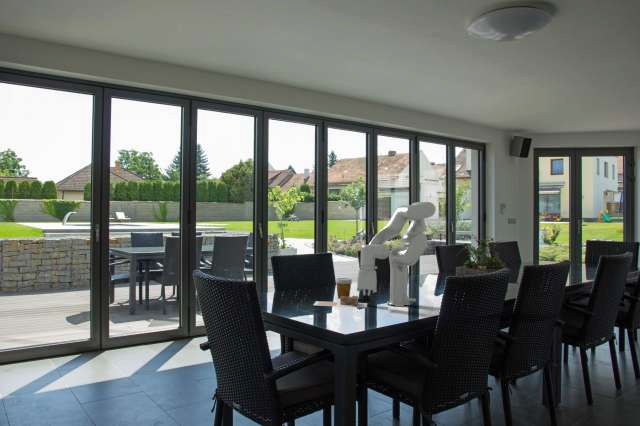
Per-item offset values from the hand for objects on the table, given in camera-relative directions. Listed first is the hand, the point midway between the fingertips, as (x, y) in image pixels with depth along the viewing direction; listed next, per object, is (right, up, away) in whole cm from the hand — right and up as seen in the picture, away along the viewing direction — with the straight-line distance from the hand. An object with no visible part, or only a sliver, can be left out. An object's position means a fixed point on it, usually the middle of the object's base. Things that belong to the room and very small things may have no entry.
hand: (366, 302), depth 258 cm
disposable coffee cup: (-11, -3, +22) cm, 25 cm away
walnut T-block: (-9, -1, +1) cm, 9 cm away
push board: (-14, -2, +2) cm, 14 cm away
